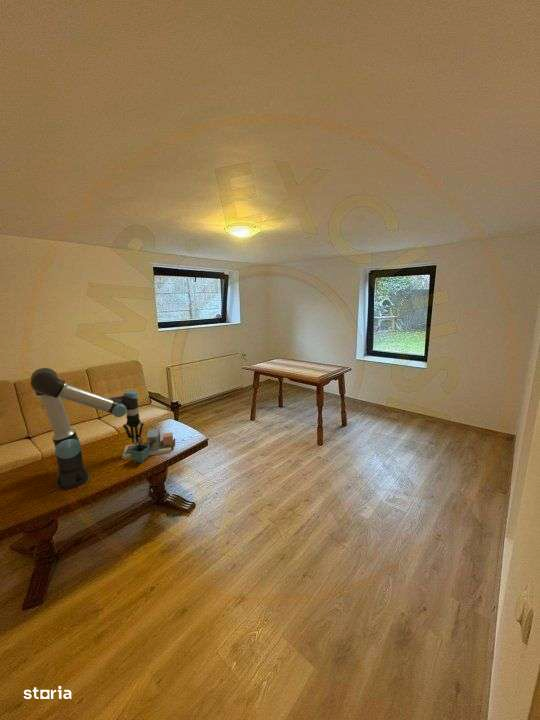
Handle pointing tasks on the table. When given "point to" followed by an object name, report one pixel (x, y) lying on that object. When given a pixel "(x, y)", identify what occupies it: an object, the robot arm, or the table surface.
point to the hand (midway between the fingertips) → (136, 446)
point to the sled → (153, 444)
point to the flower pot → (139, 453)
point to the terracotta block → (167, 438)
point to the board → (161, 451)
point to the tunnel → (153, 438)
